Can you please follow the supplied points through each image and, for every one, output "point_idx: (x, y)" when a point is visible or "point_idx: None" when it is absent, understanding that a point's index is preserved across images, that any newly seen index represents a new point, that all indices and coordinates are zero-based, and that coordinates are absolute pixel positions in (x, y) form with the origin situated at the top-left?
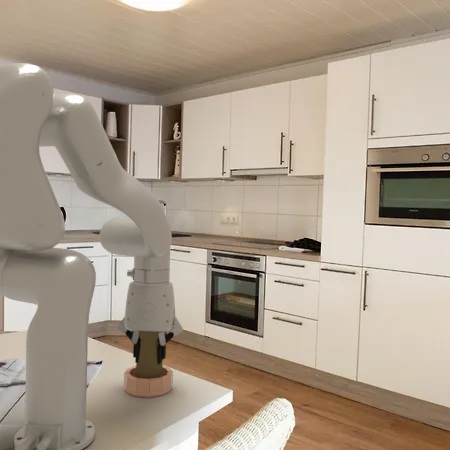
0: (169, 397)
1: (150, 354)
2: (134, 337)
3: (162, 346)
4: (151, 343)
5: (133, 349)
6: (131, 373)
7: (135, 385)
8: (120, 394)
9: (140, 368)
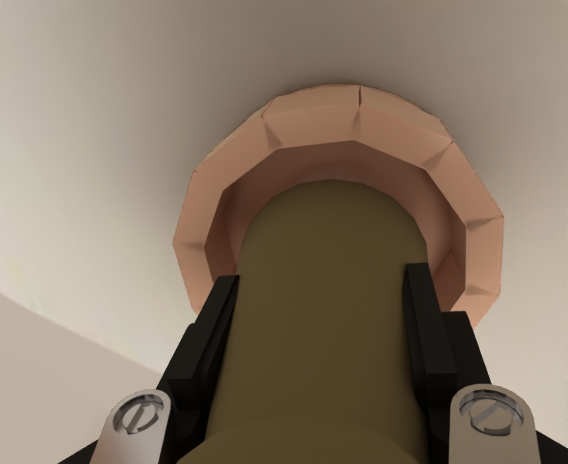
0: (178, 133)
1: (276, 296)
2: (504, 457)
3: (173, 397)
4: (255, 386)
5: (479, 354)
6: (459, 269)
7: (371, 98)
8: (473, 91)
9: (368, 220)
